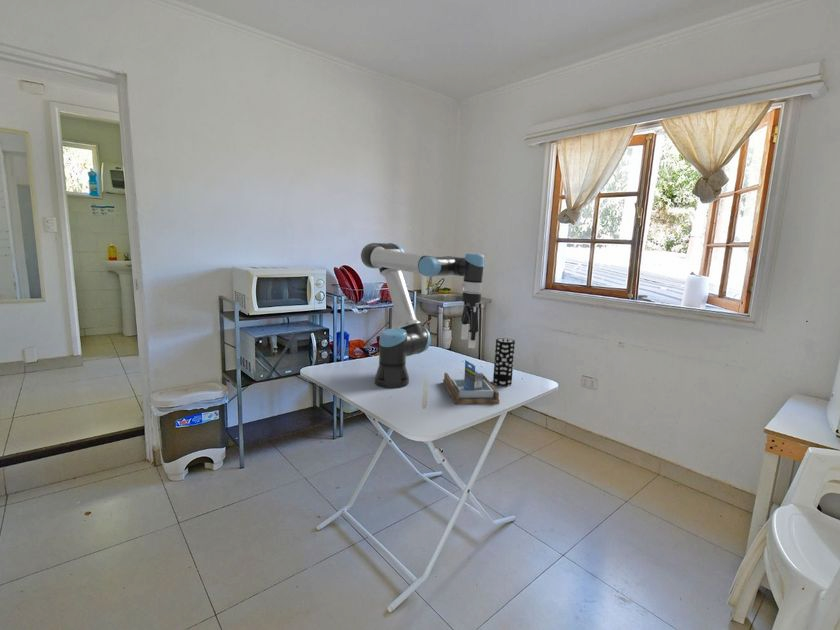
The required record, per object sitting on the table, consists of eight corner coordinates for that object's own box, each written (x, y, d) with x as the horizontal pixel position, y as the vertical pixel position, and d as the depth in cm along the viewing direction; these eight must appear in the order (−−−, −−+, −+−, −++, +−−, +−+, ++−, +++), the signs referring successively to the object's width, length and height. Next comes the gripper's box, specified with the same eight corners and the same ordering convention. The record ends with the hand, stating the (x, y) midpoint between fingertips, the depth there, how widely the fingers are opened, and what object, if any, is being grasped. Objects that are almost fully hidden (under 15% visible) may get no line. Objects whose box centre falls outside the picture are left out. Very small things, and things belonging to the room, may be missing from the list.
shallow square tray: (458, 398, 161) (459, 391, 160) (451, 386, 174) (452, 379, 174) (493, 398, 163) (493, 390, 162) (483, 386, 176) (484, 379, 176)
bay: (454, 404, 159) (455, 393, 158) (443, 382, 184) (443, 372, 183) (499, 403, 161) (500, 392, 161) (482, 382, 186) (482, 372, 185)
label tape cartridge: (481, 394, 164) (483, 365, 162) (473, 395, 163) (475, 366, 161) (471, 387, 172) (473, 359, 170) (463, 388, 171) (464, 359, 169)
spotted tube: (502, 387, 180) (505, 343, 176) (489, 381, 187) (492, 339, 183) (515, 384, 184) (519, 341, 181) (502, 379, 191) (505, 337, 188)
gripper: (456, 287, 176) (453, 335, 180) (469, 296, 152) (465, 351, 156) (473, 288, 177) (469, 336, 181) (489, 297, 153) (484, 352, 157)
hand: (467, 343), depth 168 cm, fingers open, 13 cm apart
